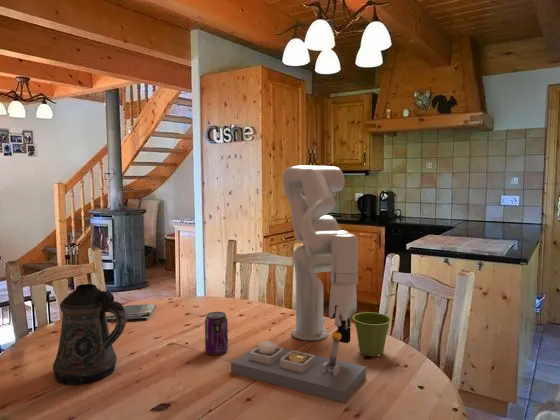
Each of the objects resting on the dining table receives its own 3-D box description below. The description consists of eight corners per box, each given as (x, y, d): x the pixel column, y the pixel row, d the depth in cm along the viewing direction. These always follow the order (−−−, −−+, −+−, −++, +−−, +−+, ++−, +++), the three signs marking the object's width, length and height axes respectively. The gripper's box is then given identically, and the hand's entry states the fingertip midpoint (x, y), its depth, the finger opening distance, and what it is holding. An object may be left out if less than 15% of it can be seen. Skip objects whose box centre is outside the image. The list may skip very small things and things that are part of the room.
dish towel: (113, 310, 185) (113, 302, 185) (157, 308, 187) (156, 301, 187) (100, 324, 166) (100, 316, 166) (148, 322, 168) (148, 314, 168)
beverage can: (223, 357, 134) (223, 318, 133) (201, 355, 136) (201, 317, 135) (230, 348, 141) (230, 311, 140) (210, 346, 143) (209, 310, 142)
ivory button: (264, 346, 130) (264, 340, 130) (278, 349, 127) (278, 343, 127) (255, 352, 126) (255, 345, 125) (269, 355, 123) (269, 349, 123)
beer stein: (57, 365, 129) (53, 281, 127) (126, 355, 136) (124, 276, 134) (49, 390, 113) (45, 295, 111) (128, 378, 120) (125, 288, 118)
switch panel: (261, 353, 137) (261, 337, 137) (365, 377, 120) (366, 359, 120) (231, 372, 123) (230, 355, 123) (344, 403, 106) (344, 383, 106)
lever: (328, 368, 119) (334, 331, 122) (337, 370, 117) (343, 332, 120) (325, 368, 116) (331, 329, 120) (334, 370, 115) (340, 331, 118)
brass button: (293, 357, 125) (294, 351, 125) (309, 361, 123) (309, 354, 122) (285, 364, 121) (285, 357, 121) (301, 368, 118) (301, 361, 118)
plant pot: (344, 353, 137) (345, 318, 136) (365, 343, 145) (365, 309, 145) (378, 364, 129) (378, 326, 128) (397, 352, 137) (398, 317, 137)
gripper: (341, 271, 131) (341, 331, 132) (320, 281, 118) (320, 347, 119) (365, 274, 127) (365, 335, 128) (347, 284, 114) (346, 353, 115)
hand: (344, 341), depth 124 cm, fingers closed
